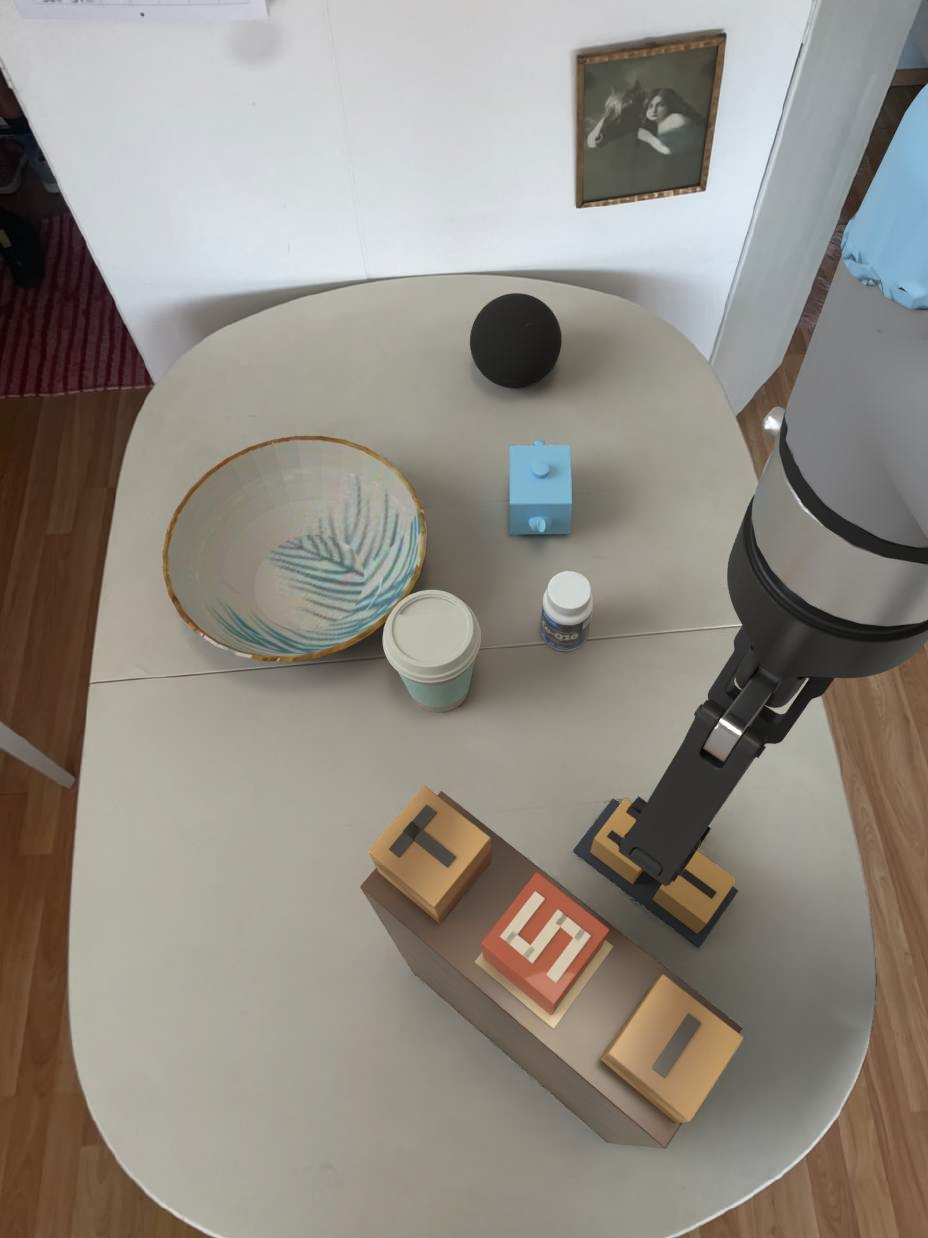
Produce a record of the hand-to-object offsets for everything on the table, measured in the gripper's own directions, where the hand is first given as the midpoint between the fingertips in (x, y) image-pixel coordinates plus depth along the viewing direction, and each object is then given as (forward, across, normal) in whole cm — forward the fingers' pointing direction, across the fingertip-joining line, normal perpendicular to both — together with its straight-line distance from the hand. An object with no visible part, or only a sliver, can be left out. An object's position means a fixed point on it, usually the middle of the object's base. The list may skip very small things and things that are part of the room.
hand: (733, 752), depth 52 cm
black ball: (+37, -40, -45) cm, 70 cm away
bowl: (+37, -5, -44) cm, 58 cm away
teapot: (+37, -26, -31) cm, 54 cm away
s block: (+4, +14, -2) cm, 14 cm away
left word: (+37, -2, -1) cm, 37 cm away
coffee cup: (+37, -4, -27) cm, 46 cm away
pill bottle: (+37, -16, -21) cm, 45 cm away
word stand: (+37, +14, -2) cm, 39 cm away
